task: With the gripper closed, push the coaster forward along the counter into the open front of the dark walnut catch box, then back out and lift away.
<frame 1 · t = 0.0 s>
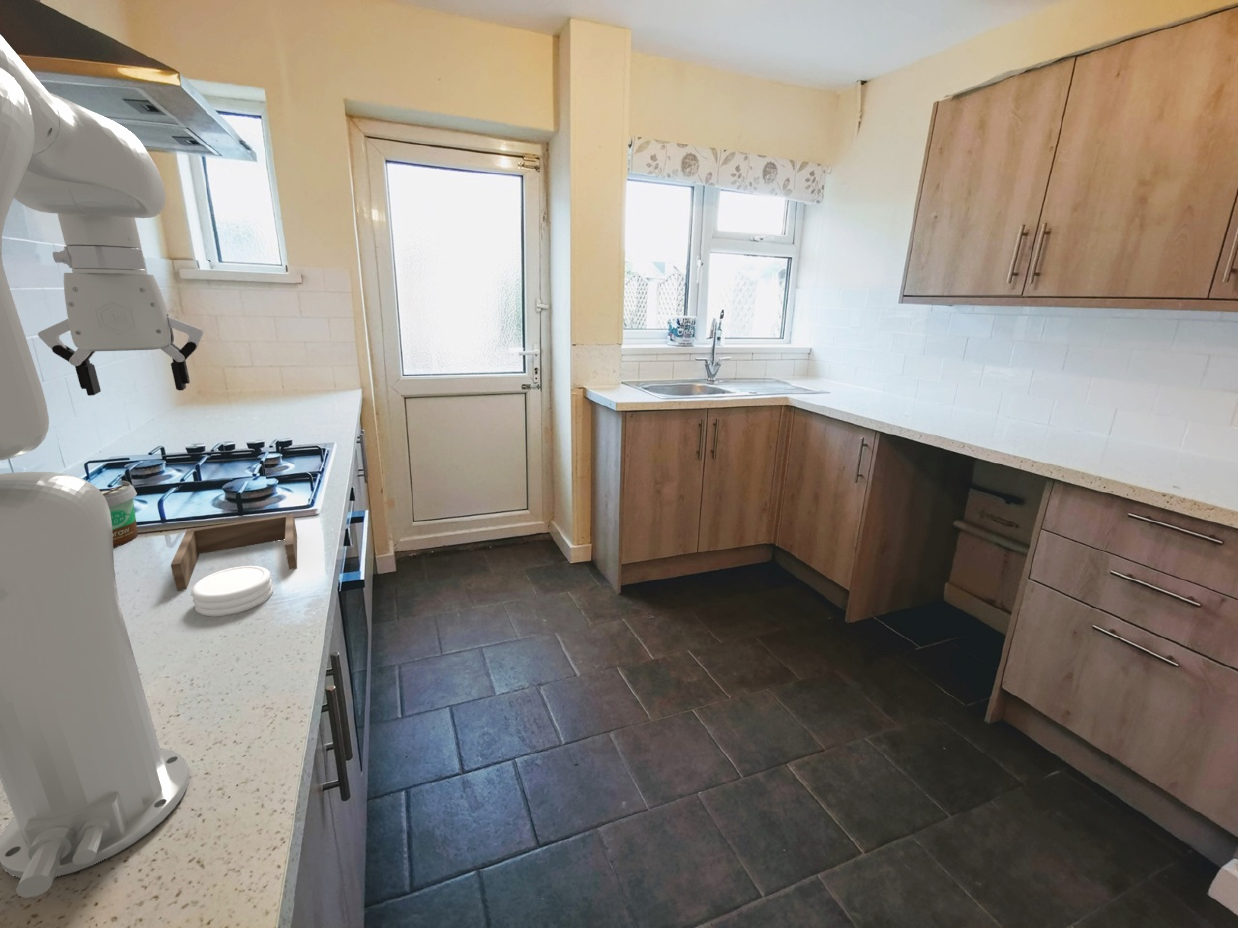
hand: (139, 391, 79), 31 cm above the worktop, tool pointing down, fingers open, 9 cm apart
coaster: (236, 601, 86), on the worktop
catch box: (243, 561, 97), on the worktop
food container: (118, 543, 104), on the worktop
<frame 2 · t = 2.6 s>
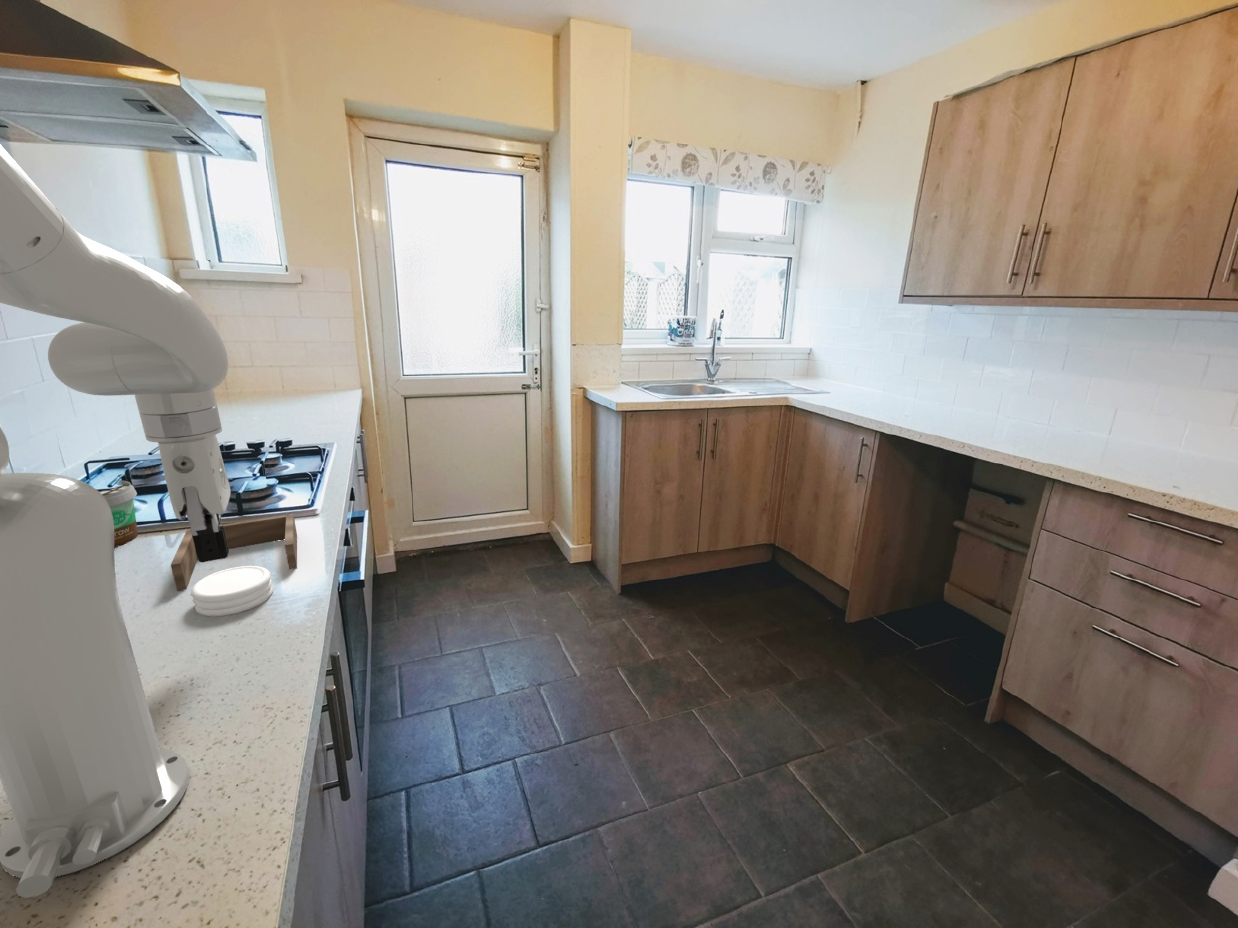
hand: (214, 557, 74), 11 cm above the worktop, tool pointing down, fingers closed
nothing on the worktop moved.
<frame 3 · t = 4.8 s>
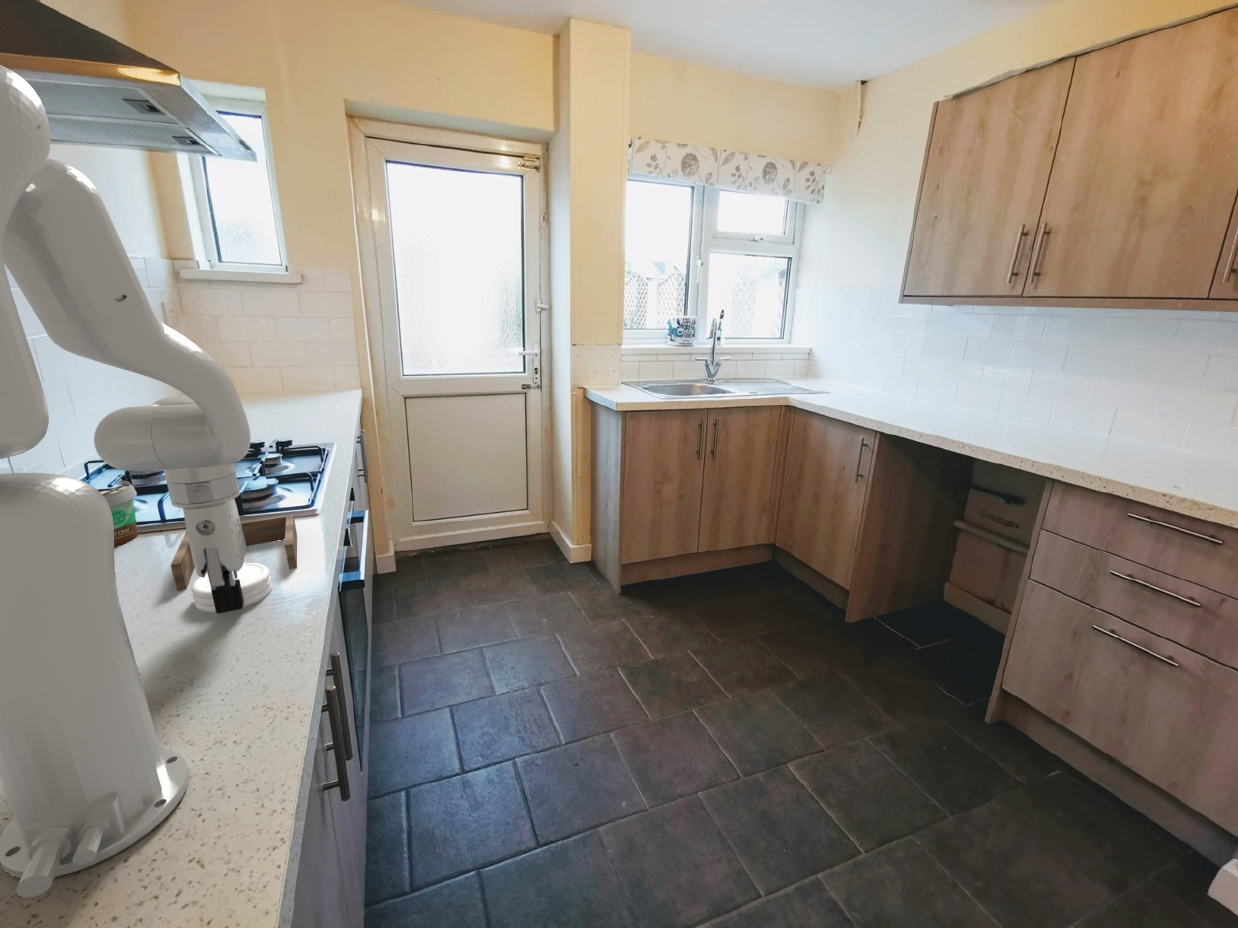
hand: (230, 608, 80), 1 cm above the worktop, tool pointing down, fingers closed
coaster: (235, 598, 87), on the worktop, touching gripper
everything else where it was.
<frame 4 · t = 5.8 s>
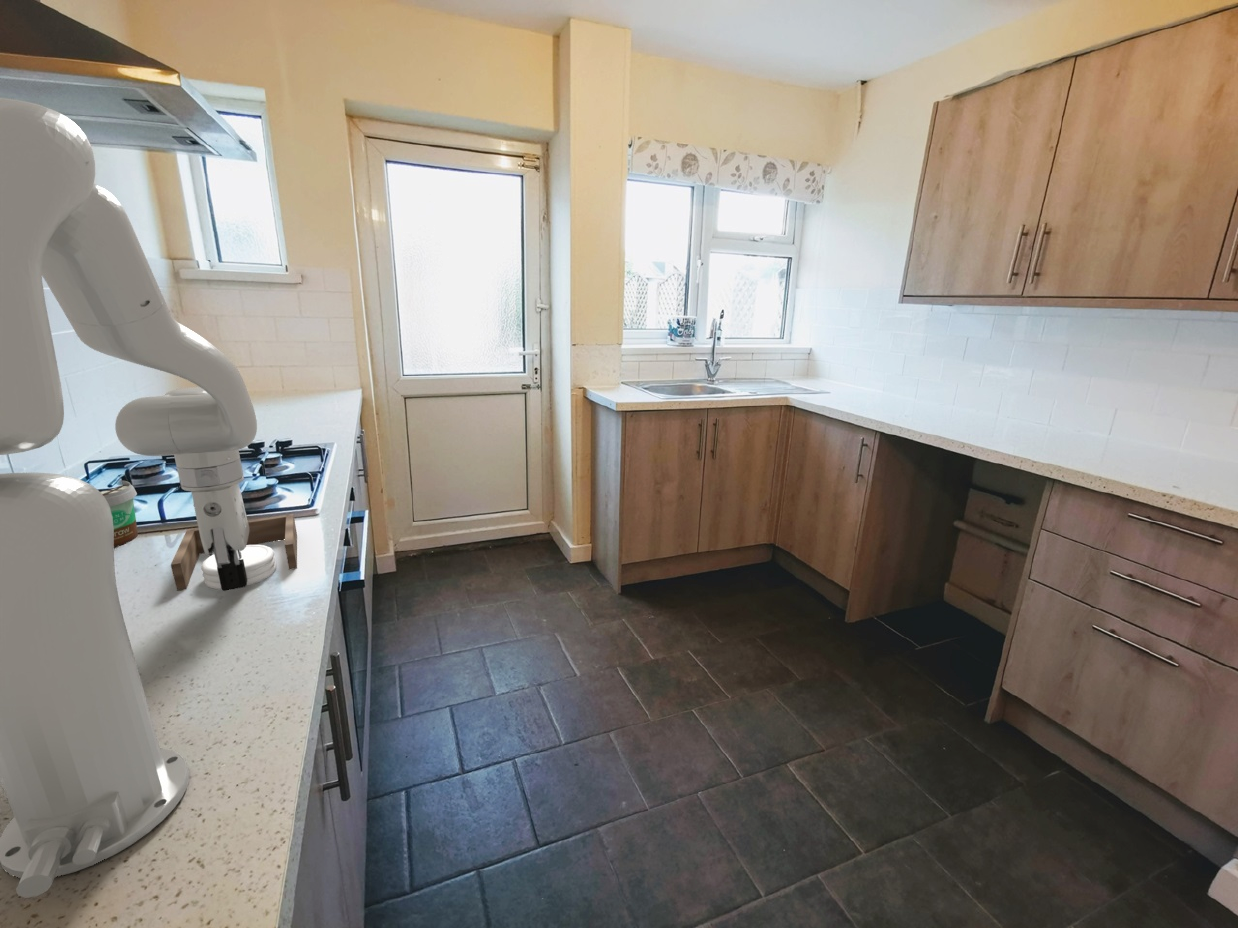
hand: (235, 586, 87), 1 cm above the worktop, tool pointing down, fingers closed
coaster: (242, 576, 93), on the worktop, touching gripper
everything else where it was.
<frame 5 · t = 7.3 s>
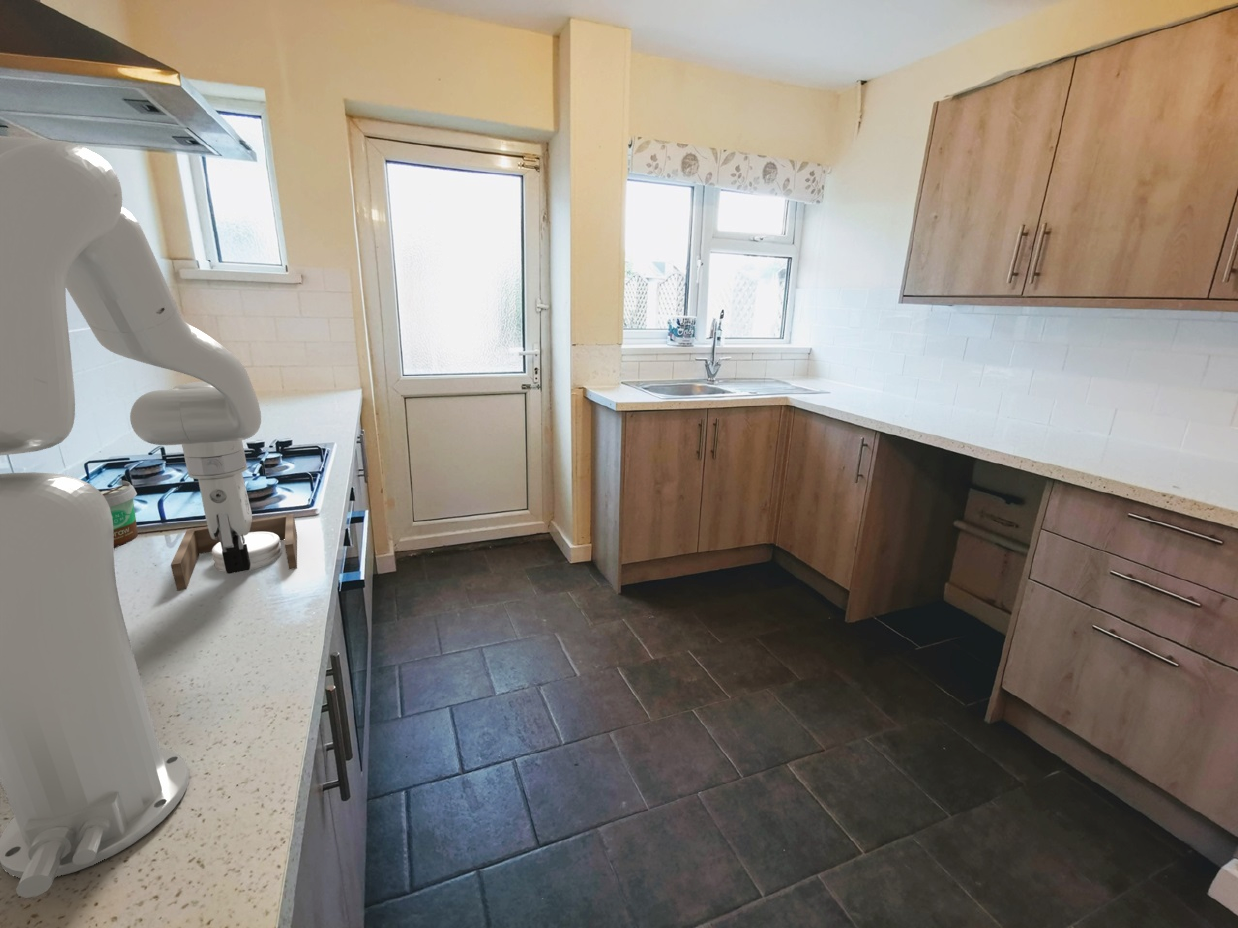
hand: (238, 569, 92), 1 cm above the worktop, tool pointing down, fingers closed
coaster: (249, 561, 98), on the worktop
everything else where it was.
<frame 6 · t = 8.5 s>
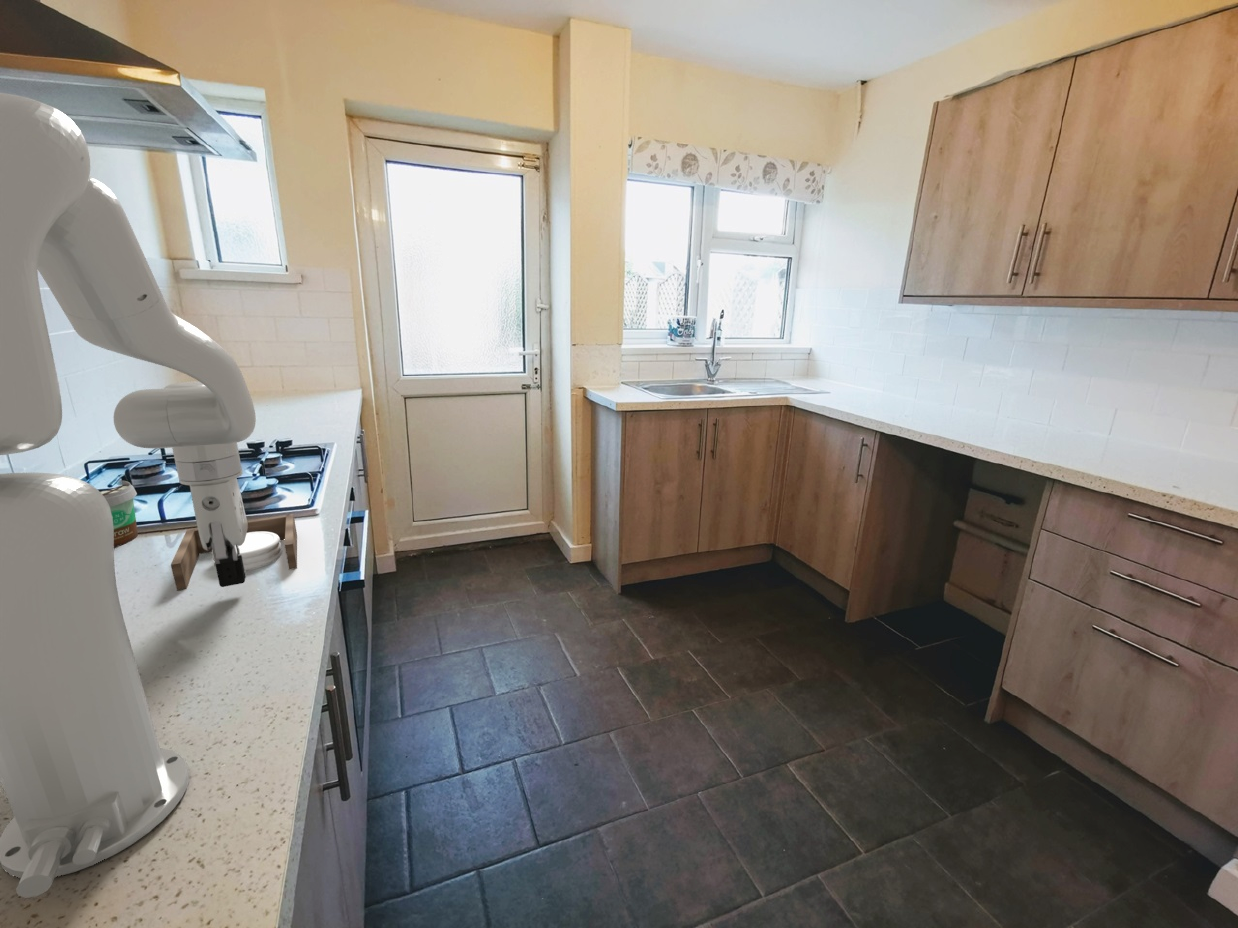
hand: (233, 582, 86), 2 cm above the worktop, tool pointing down, fingers closed
nothing on the worktop moved.
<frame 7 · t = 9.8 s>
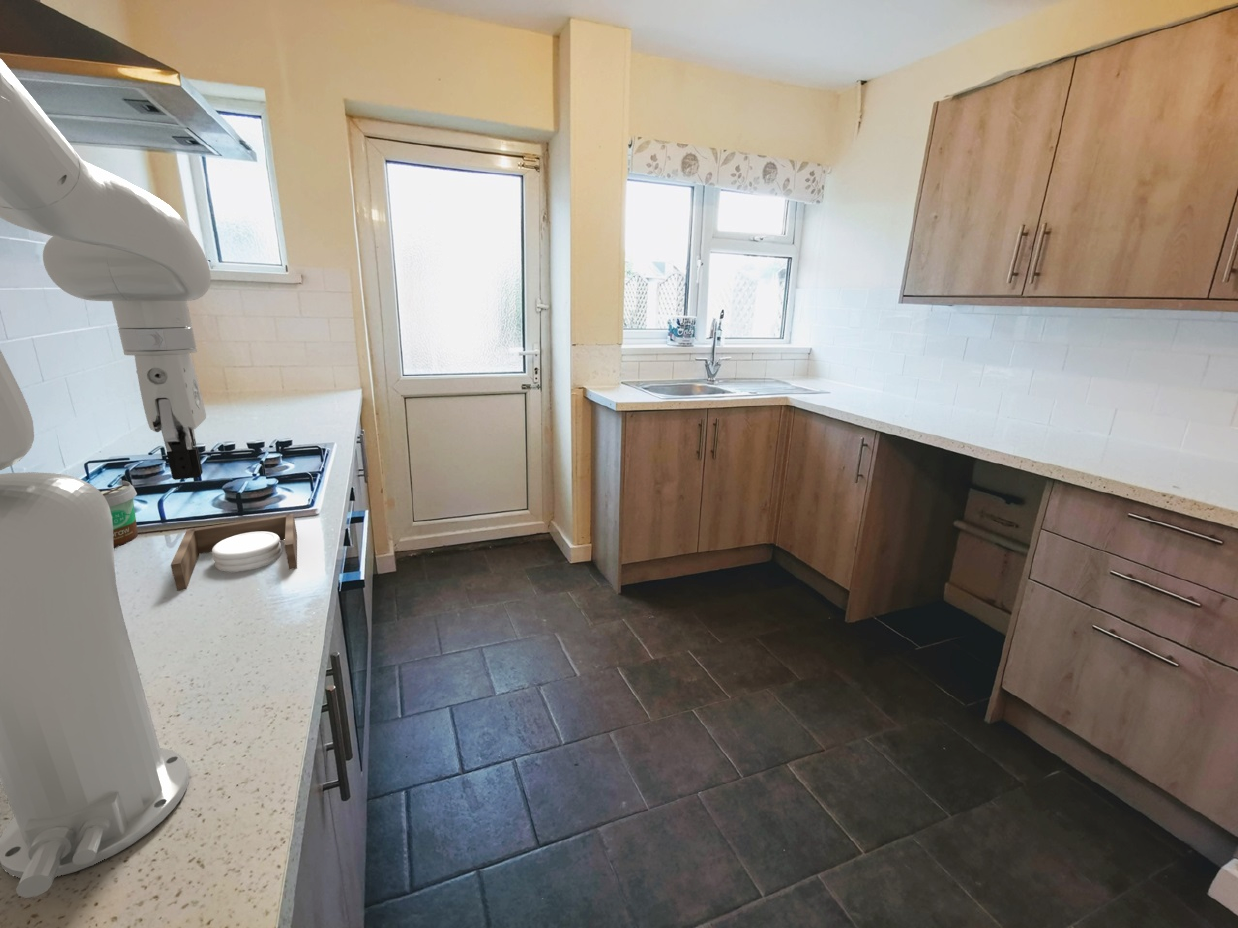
hand: (188, 476, 78), 20 cm above the worktop, tool pointing down, fingers closed
nothing on the worktop moved.
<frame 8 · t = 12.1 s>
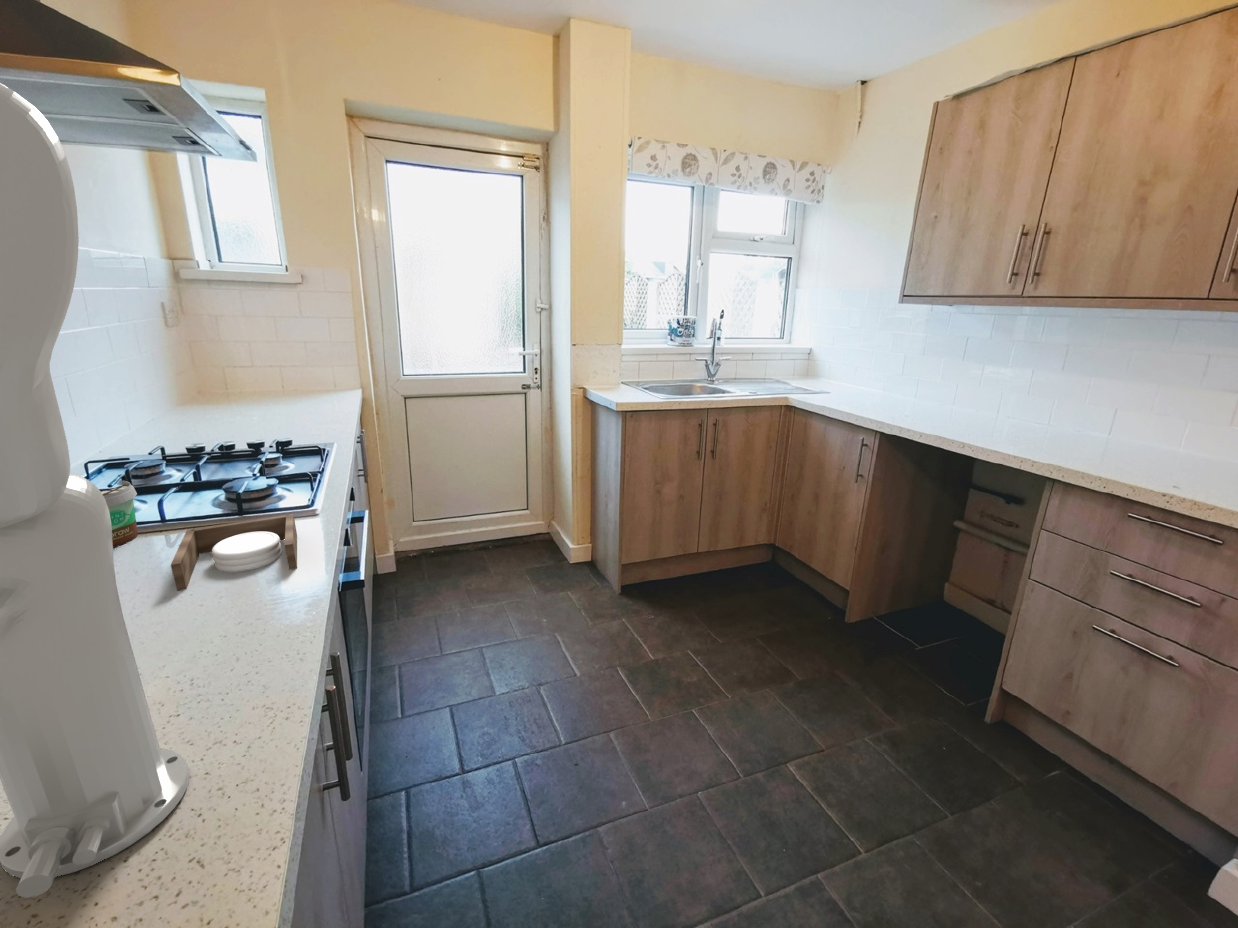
hand: (2, 445, 59), 29 cm above the worktop, tool pointing down, fingers closed
nothing on the worktop moved.
at the end: coaster inside the target area on the catch box (1.2 cm from its centre), point -0.5 cm above the catch box's base; coaster moved 14.8 cm from its start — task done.
